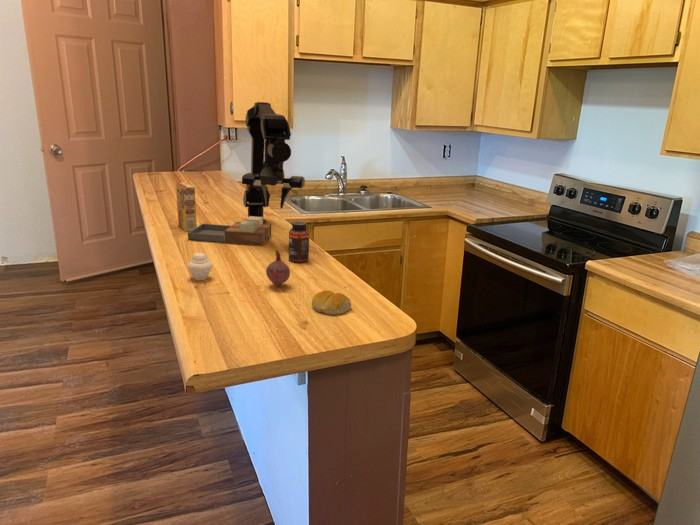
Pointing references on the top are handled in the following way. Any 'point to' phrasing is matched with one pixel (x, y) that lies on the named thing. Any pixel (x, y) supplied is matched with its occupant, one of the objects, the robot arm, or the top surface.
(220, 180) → the top surface
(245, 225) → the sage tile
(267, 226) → the walnut board
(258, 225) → the cream tile
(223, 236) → the tray
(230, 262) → the top surface
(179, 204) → the candy box
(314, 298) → the bread roll
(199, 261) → the white lidded jar
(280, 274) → the vegetable
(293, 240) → the supplement bottle
